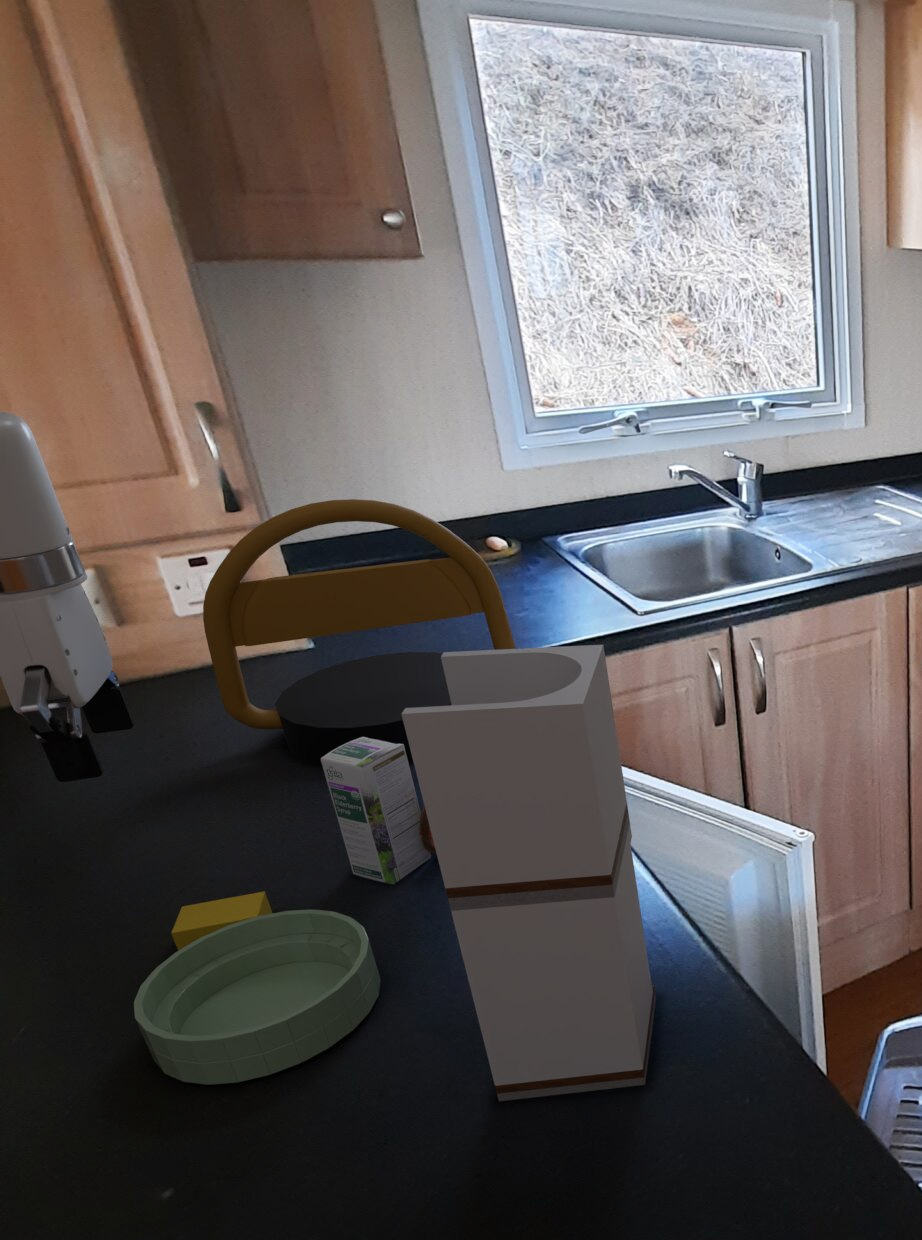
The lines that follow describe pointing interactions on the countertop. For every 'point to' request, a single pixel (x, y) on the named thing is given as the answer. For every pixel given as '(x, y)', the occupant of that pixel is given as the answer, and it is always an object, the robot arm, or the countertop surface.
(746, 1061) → the countertop surface
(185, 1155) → the countertop surface
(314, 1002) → the bowl
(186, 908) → the sponge
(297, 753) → the chair
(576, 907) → the striped white pedestal
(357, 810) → the syrup box
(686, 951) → the countertop surface
